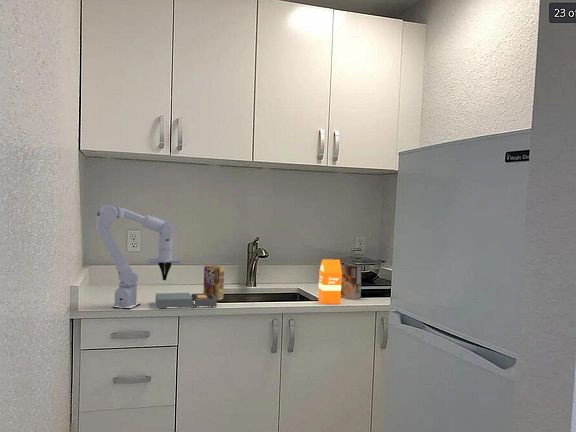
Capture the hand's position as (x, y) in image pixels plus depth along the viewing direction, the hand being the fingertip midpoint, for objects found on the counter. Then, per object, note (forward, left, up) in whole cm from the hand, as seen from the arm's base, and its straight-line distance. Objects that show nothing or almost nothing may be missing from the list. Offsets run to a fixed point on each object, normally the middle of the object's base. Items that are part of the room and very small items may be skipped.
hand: (164, 279), depth 224 cm
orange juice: (+30, -70, -11) cm, 77 cm away
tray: (+4, -17, -10) cm, 20 cm away
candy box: (+17, -17, -11) cm, 26 cm away
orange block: (+4, -16, -7) cm, 18 cm away
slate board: (-2, -5, -10) cm, 12 cm away
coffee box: (+44, -79, -11) cm, 91 cm away
